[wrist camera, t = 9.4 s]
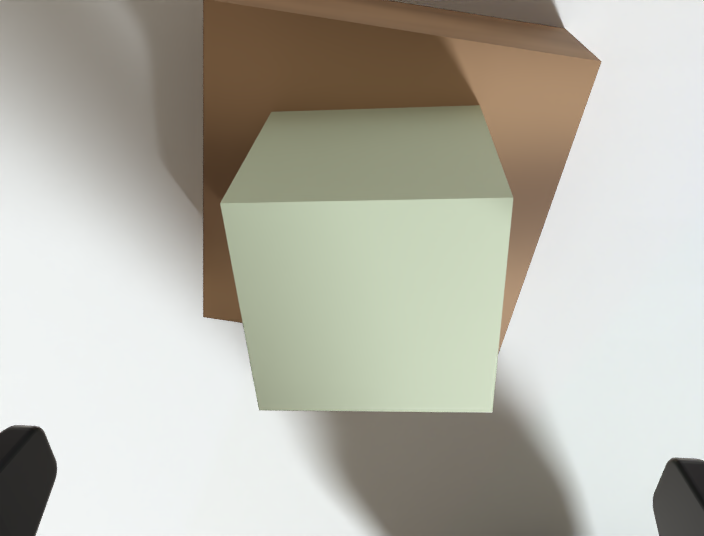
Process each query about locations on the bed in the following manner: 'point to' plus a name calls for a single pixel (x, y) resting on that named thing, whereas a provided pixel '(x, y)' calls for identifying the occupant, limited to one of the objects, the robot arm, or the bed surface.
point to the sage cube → (371, 259)
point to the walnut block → (388, 98)
